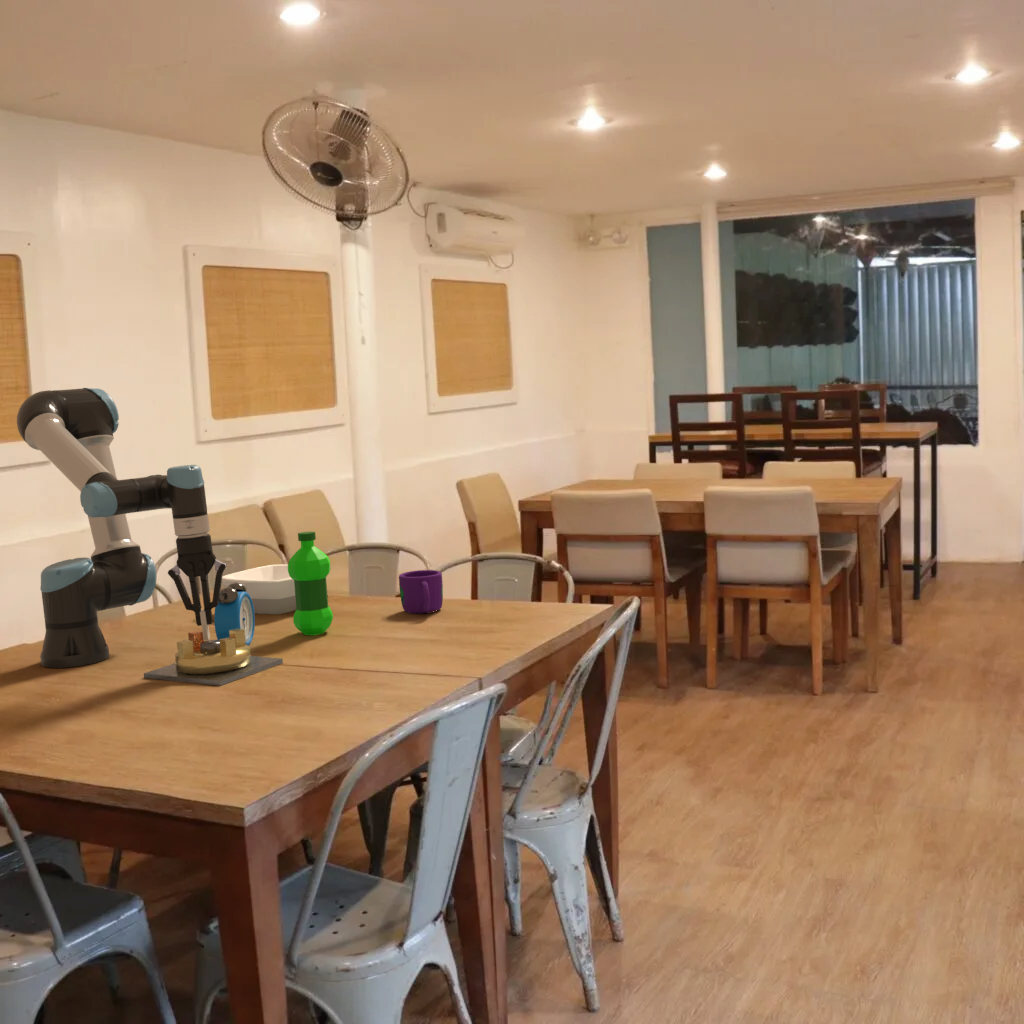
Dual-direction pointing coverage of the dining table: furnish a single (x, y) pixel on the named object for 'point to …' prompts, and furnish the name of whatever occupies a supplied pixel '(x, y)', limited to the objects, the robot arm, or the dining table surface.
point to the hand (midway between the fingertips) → (206, 639)
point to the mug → (421, 591)
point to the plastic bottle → (310, 586)
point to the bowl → (267, 588)
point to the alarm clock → (234, 612)
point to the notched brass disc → (212, 653)
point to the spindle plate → (214, 678)
